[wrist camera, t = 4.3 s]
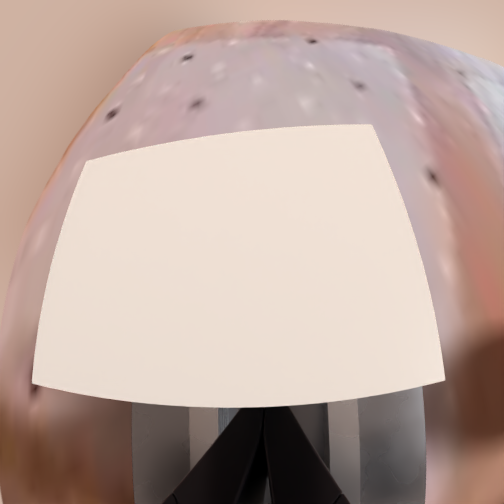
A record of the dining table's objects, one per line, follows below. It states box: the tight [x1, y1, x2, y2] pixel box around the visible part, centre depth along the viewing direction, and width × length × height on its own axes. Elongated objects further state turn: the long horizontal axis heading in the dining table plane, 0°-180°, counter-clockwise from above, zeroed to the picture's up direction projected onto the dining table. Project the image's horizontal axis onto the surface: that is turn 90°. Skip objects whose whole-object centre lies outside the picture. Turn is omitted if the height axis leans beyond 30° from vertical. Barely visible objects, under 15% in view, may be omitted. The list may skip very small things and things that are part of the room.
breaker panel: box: [132, 386, 426, 504], centre depth 11 cm, size 17×12×5 cm
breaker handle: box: [32, 125, 445, 408], centre depth 7 cm, size 3×4×10 cm
